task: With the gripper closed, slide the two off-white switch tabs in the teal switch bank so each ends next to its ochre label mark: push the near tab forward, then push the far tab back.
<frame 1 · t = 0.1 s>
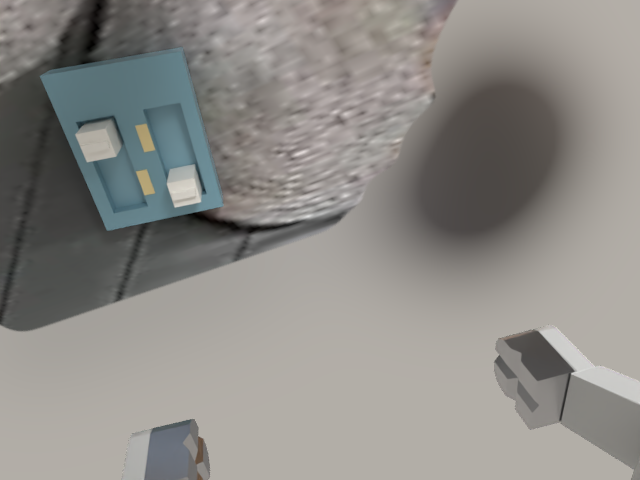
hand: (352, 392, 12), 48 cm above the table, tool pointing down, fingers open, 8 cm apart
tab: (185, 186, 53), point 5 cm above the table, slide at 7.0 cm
switch bank: (145, 138, 54), on the table
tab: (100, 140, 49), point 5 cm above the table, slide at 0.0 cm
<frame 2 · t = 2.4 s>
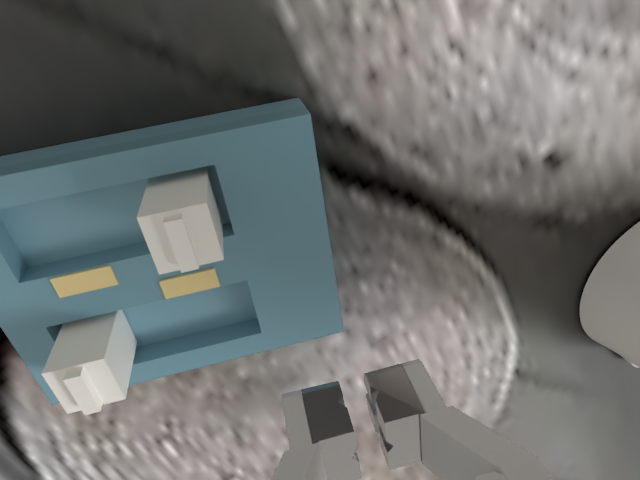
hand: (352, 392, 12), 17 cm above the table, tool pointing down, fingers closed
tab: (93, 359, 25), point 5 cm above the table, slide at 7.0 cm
switch bank: (172, 243, 28), on the table
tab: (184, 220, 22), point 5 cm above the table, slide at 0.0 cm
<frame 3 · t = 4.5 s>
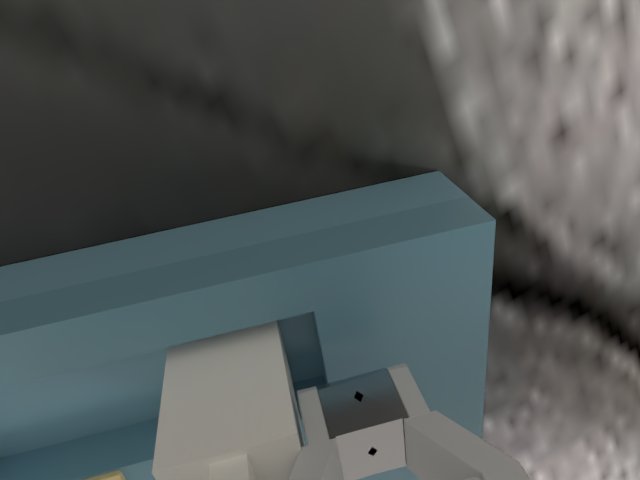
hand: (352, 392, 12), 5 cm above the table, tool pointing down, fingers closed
switch bank: (216, 389, 17), on the table
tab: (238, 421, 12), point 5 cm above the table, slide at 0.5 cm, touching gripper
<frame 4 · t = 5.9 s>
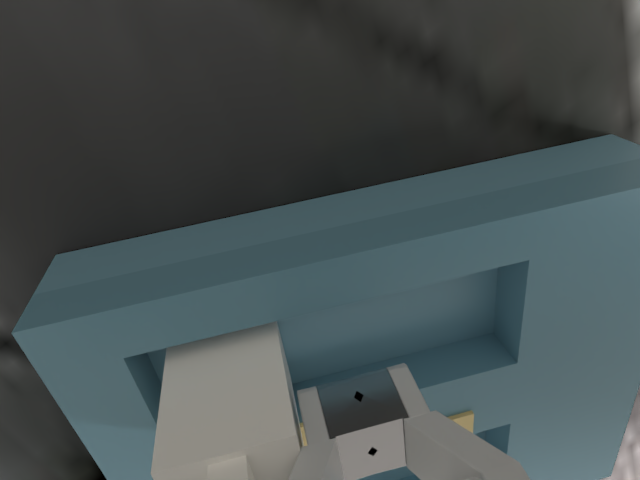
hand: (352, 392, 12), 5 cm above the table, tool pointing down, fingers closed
switch bank: (369, 351, 18), on the table
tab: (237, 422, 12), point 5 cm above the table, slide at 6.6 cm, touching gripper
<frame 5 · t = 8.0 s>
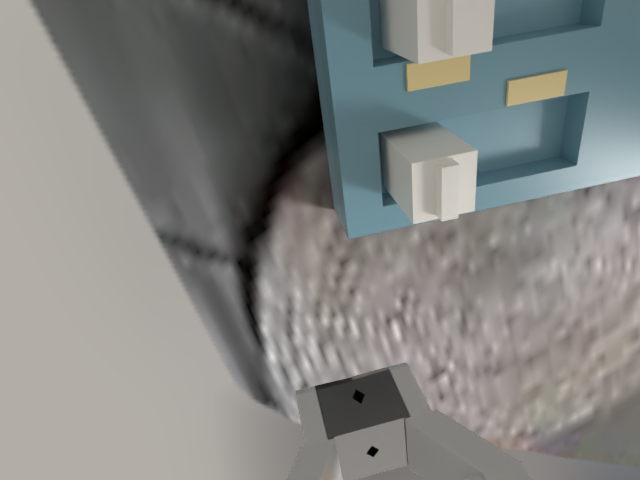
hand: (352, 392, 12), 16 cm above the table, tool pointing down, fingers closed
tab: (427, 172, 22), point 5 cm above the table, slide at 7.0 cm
switch bank: (481, 62, 25), on the table
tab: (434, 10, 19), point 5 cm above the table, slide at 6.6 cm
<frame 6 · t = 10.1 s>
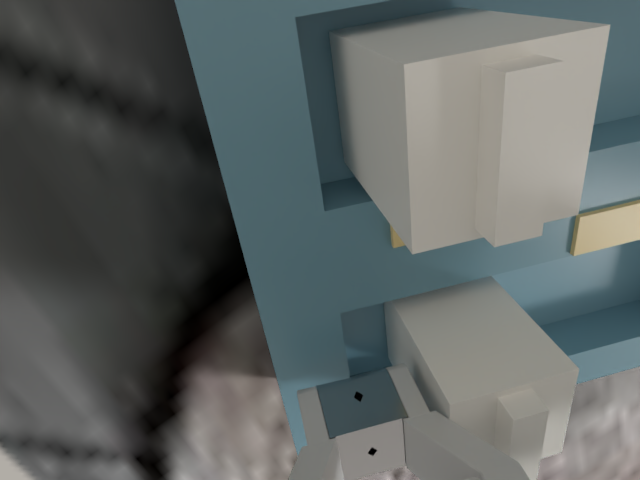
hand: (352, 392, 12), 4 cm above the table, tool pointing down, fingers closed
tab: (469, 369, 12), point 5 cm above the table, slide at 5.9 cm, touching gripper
switch bank: (517, 158, 15), on the table
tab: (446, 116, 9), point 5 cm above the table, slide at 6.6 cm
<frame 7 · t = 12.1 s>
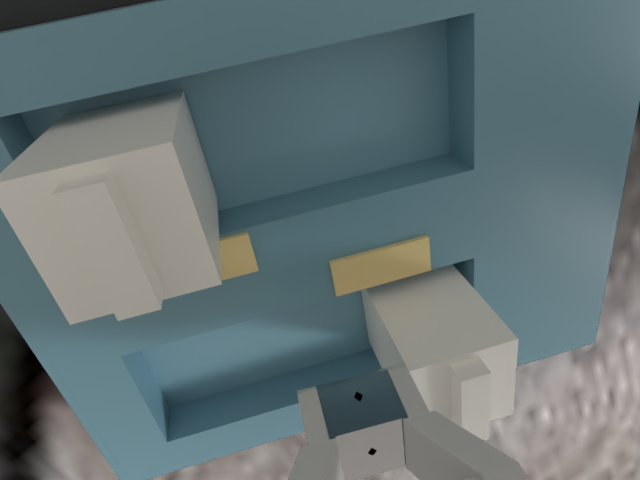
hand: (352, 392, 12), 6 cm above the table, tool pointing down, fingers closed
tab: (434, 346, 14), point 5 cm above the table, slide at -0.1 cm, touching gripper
switch bank: (319, 201, 16), on the table
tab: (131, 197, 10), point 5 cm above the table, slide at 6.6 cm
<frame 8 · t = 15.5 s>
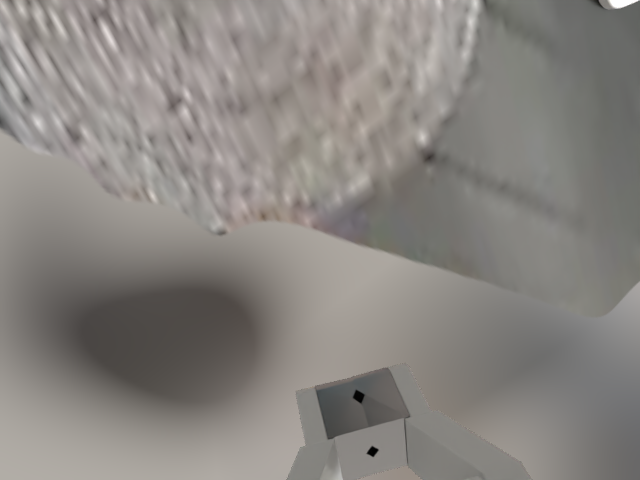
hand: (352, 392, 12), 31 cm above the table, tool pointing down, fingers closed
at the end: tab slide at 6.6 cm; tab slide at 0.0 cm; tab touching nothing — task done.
